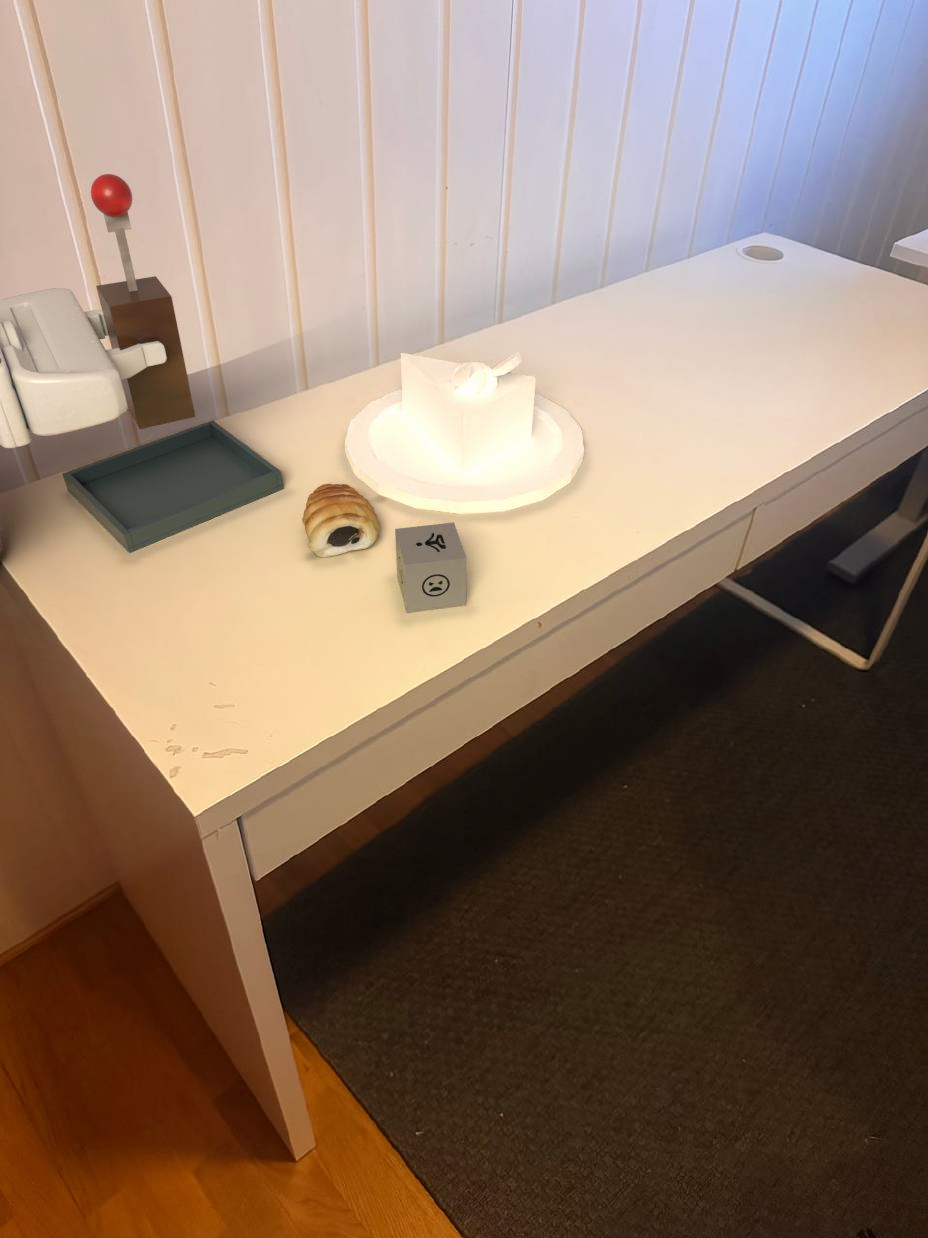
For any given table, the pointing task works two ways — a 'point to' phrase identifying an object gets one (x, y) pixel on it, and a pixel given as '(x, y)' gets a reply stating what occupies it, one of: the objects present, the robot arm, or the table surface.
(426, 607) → the dice cube
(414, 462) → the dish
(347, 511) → the pastry
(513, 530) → the table surface
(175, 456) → the teal serving tray
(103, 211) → the red ball lever
